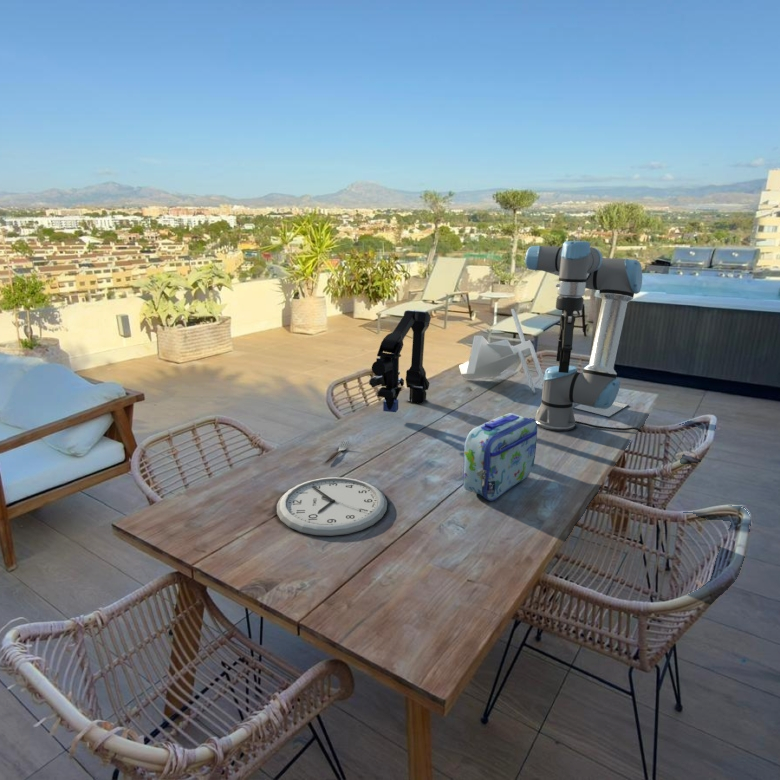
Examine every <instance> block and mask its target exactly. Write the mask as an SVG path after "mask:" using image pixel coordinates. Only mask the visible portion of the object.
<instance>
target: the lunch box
mask: <svg viewBox="0 0 780 780" xmlns="http://www.w3.org/2000/svg"><path fill="white" fill-rule="evenodd" d="M537 438H538V425H537V422H536V420H535V418H534V417H530V418H528V417H525V416H521V415H519V414H516V413H513V412H510V413H505V414H503V415H501V416H498V417H495V418H494V419H492V420H489V421H487V422H484V423H482V424H480V425H478V426H476V427H474V428H472V429H471V430H470V431H469V433H468V434H467V436H466V438H465V441H464V448H463V468H462V469H463V470H462V471H463V472H462V473H463V474H462V476H463V477H462V483H463V488H464V490H465V491H469V492H470V493H475V494H477V495H480V496H481V497H482V498H484V499H485V500H487V501H489V502H493V501H495V500H497V499H498V498H499V497H501V496H502V495H504V493H506V492H508V491H510V490H511V489H512V488H513V487H514V486H516V485H517V484H519V483H520V482H522V481H525V480H526V479H527V478H528V477H529V476H530V474H531V473H532V470H533V468H534V464H535V461H536V451H537V441H538V439H537Z"/></svg>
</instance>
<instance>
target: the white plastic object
mask: <svg viewBox="0 0 780 780" xmlns="http://www.w3.org/2000/svg"><path fill="white" fill-rule="evenodd" d="M510 311H511V315H512V319H513V321H514V324H515V327H516V330H517V333H518V336H519V340H520V343H518V344H515V345H512V344H511V342H510V341H509V340H508V339H507V338H506V339H502V340H497V341H492V342H489V341H488V340H487V339H486V338H485V337H484V335H477V334H476V335H475V334H474V336H473V340H472V345H471V349H470V353H469V358H468V361H465V362H464V363H461V364H459V365H458V368H459V371H460V375H461V376H462V378H463V379H464V380H474V379H483V378H484V379H485V378H492V379H495V378H497V377H500V376H502V373H503V372H504V371H506V370H507V369H508V368H510V367H511V366H512V365H514V364H515V363H517V362H519V361H520V363H521V366H522V369H523V372H524V375H525V379H526V382H527V385H528V387H529V388H530V390H531V391H532V392H533V394H535V393H536V389H535V385H534V382H533V379H532V376H531V373H530V370H529V369H530V368H529V367H528V363H527V360H526V356H529V355H531V357H532V360H533V364H534V366H535V370H536V372H537V375H538V379H539V381H540V384H541V386H542V387H543V381H544V380H543V379H544V373H543V370H542V368H541V367H542V366H541V364H540V361H539V358H538V355H537V353H536V350H535V346H534V343H532V341H531V339H528V340H526V338H525V335H524V332H523V329H522V326H521V322H520V320H519V317H518V314H517V312H516V311H515V309H514V308H510Z"/></svg>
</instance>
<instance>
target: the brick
mask: <svg viewBox="0 0 780 780" xmlns="http://www.w3.org/2000/svg"><path fill="white" fill-rule="evenodd" d="M382 402H383V403H382V411H383V412H389V413H397V411H398V410H399V399H398V398H397V399H395V400H394V403H393V405H392V408H391V410H388V408H387V404H386V401H385V399H383V401H382Z"/></svg>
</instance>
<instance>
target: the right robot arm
mask: <svg viewBox="0 0 780 780" xmlns="http://www.w3.org/2000/svg"><path fill="white" fill-rule="evenodd" d="M524 263H525V267H526V269H528V270H530V271H535V272H537V271H541V272H545V273H549V274H552V275H554V276H558V283H556V284H555V288H557V295H558V296H556V301H555V309H556V310H559V311H561V314H560V318H559V331H558V341H557V342H558V343H557V351H556V359H555V361H556V362H559V364H558V365H553V366H550V367H547V368H546V369H545V371H544V374H543V376H544V379H543V380H544V381H543V386H542V394H541V402H540V405H539V407H538V408H537V410H536V413H535V417H534V419H535V420H536V422H537V427H539V428H542V429H544V430H549V431H556V432H567V431H572V430H574V429H575V428H576V424H578V425H582V426H587V427H591V428H596V429H603V430H613V431H631V430H635V431H637V432H639V433H643V431H642V429H640V428H639V427H637V426H636V427H635V426H632V427H631V426H630V427H614V426H613V427H612V426H603V425H596V424H591V423H588V422H587V423H586V422H582V421H579V420H578V421H577V420H576V418H575V417H576V416H575V413H574V407H573V405H574V404H578V405H580V404H581V405H586V406H591V407H594V408H601V409H607V408H609V407H611V405H612V404H613V403H614V402H616V399H617V398H618V397H617V396H618V394H619V391H620V385H621V380H620V379H619V378H617V375H618V373H617V372H616V370H615V363H616V359H617V353H618V349H619V344H620V339H621V335H622V331H623V327H624V326H623V325H624V321H625V317H626V312H627V308H628V303H630V302H631V301H632V300H633V299H634V297H635V295H638V294H640V292H641V289H642V286H643V268H642V264H641V262H640V261H639V260H637V259H630V258H617V257H616V258H614V257H612V258H611V257H603V255H602V252H601V251H600V250H599V249H598V248H596V247H591V243H590V241H582V240H566V241H564V242H563V244H562V246H551V245H550V246H546V245H531V246H529V247H528V249H527V250H526V253H525V257H524ZM586 289H588V290H593V291H599V292H598V296H599V298H600V299H601V304H600V309H599V313H598V319H597V324H596V328H595V333H594V338H593V342H592V347H591V352H590V356H589V362H588V364H587V365H586V366H584V367H583V368H582V372H578V368H577V366H573V365H570V362H571V356H572V355H571V354H572V351H573V342H574V341H573V339H574V329H575V323H576V316H575V315H574V312H579V311H582V310H583V308H584V302H585V301H584V300H585V299H584V296H585V295H586V294H585V293H586Z"/></svg>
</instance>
